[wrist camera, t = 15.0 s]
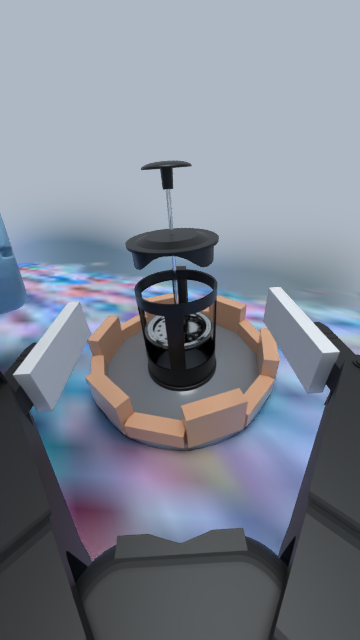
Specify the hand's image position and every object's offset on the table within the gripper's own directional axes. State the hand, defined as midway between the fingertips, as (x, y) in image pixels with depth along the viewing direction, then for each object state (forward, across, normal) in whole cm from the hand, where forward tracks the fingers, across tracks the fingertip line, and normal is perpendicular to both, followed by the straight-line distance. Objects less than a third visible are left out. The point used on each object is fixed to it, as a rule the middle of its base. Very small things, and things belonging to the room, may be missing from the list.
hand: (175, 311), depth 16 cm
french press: (+9, 0, -14) cm, 17 cm away
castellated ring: (+10, 0, -15) cm, 18 cm away
